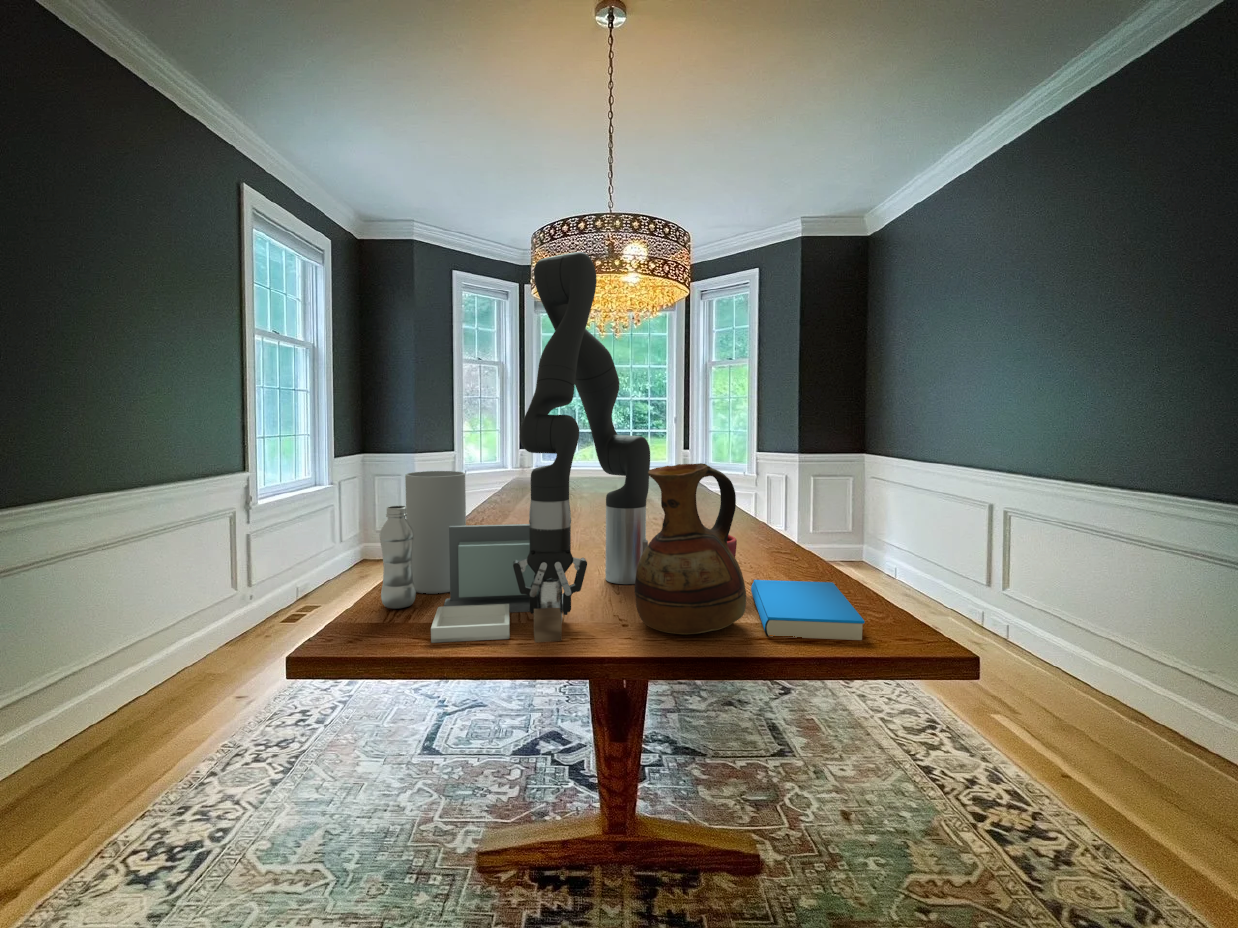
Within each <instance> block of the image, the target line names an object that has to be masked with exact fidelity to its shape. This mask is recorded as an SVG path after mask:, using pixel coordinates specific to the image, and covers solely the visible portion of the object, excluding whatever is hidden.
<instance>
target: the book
mask: <svg viewBox="0 0 1238 928" xmlns="http://www.w3.org/2000/svg"><path fill="white" fill-rule="evenodd" d="M750 591H751V596H752V598H753V601H754V603H755V607H756V610H757V611H758V614H759V618H760V621H761V624H762V627H763V629H764V632H765V634H767V636H769V635H773V636H774V635H775V636H793V637H792V638H797V637H802V639H823V640H824V639H825V640H826V639H827V640H843V641H844V640H848V641H863V625H864V624H866V623H865V620H864V618H863V617H862V615H861V614H859V612H858V610H856V608H854V606H853V605H852V604H851V602H849V600H848V599H847V597H846V596H845V595H844V594H843V593H842V591H840V590H839V588H838V587H837V586H836V584H835V583H834V582H831V581H801V580H798V581H797V580H773V579H771V580H769V579H753V582H752V584H751V588H750ZM773 636H772V637H773ZM794 636H795V637H794Z"/></svg>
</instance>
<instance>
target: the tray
mask: <svg viewBox="0 0 1238 928" xmlns="http://www.w3.org/2000/svg"><path fill="white" fill-rule="evenodd" d="M443 606H444V605H443ZM443 606H438V607H437V609H436V612H435V615H434V618H433V621H432V624H431V627H430V643H433V644H434V643H436V644H437V643H452V642H453V643H454V642H455V643H456V642H471V641H473V642H474V641H490V640H491V641H494V640H510V612H509V604H491V605H467V606H444V607H443Z"/></svg>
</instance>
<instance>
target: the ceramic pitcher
mask: <svg viewBox="0 0 1238 928" xmlns="http://www.w3.org/2000/svg"><path fill="white" fill-rule="evenodd" d="M648 474H649V478H651V479H652V480H654V482H655V483H656V484H657V485H658V487H659V490H660V493H661V494H660V497H661V499H660V506H661V508H662V511H663V513H664V517H663V521H662V527H661V530H660V531H659V532H658V533H657V534H656V535H655V536H654V537H652V539H651V540H650V542H648V546H647V547H646V549H645V550H644V552H643V554H642V555H641V558H640V561H639V563H638V567H637V571H636V579H635V584H634V598H635V607H636V611H637V613H638V616H639V618H640V621H642V623H643V624H645V625H646V626H648V627H649V628H650V629H653V630H656V631H660V632H662V633H668V634H677V635H692V634H693V635H694V634H701V633H702V634H703V633H707V632H712V631H718V630H721V629H724V628H727V627H729V626H731V625H732V624H733V623H735V622H737V621H739V620H740V619H742V617H743V616H744V614H745V612H746V607H747V606H746V605H747V590H746V585H745V579H744V577H743V572H742V569H741V567H740V565H739V563H738V561H737V559H736V556H735V557H734V556H733V554H732V553H731V551H730V550H729V548H728V546H727V538H728V535H730V531H731V527H732V524H733V520H734V517H735V511H736V506H737V505H736V504H737V494H736V489H735V487H734V484H733V482H732V480H731V479H730V478H729V477H728V476H727V475H726V474H724V473H723V472H722V471H720V470H718V469H715V468H713V467H712V466H710V465H708V464H706V463H700V462H699V463H683V464H681V463H680V464H679V463H678V464H676V465H664V466H659V467H655V468H650V470H649V471H648ZM707 477H713V478H714V479H715V480H716V482H717V484H718V488H719V492H720V506H719V511H718V515H717V516H716V520H715V522H714V524H713V525H712V527H711V528H709V527H706V526H705V525H704V524H703V522H702V520H701V518H700V516H699V511H698V505H697V488H698V486H699V483H700V482H701V480H703V479H704V478H707Z"/></svg>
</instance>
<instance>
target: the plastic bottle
mask: <svg viewBox="0 0 1238 928" xmlns="http://www.w3.org/2000/svg"><path fill="white" fill-rule="evenodd" d="M406 516H407V513H406V505H389V506H387V507H386V514H385V517H386V518H387V520H386V521H385V522H384V524H383V525H382V527H381V529H380V531H379V540H380V541H379V543H380V548H381V553H382V554H381V555H382V562H383V575H382V586H381V591H380V592H381V593H380V598H381V603H382V605H383V606H384V607H385V608H387V609H403V608H407V607H410V606H412V605H413V604H414V602H415V600H416V596H417V592H416V590H415V585H414V582H413V573H412V561H411V559H412V548H413V538H414V532H413V528H412V527H411V525H410V524H409V523H408V521H407V520H406Z"/></svg>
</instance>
